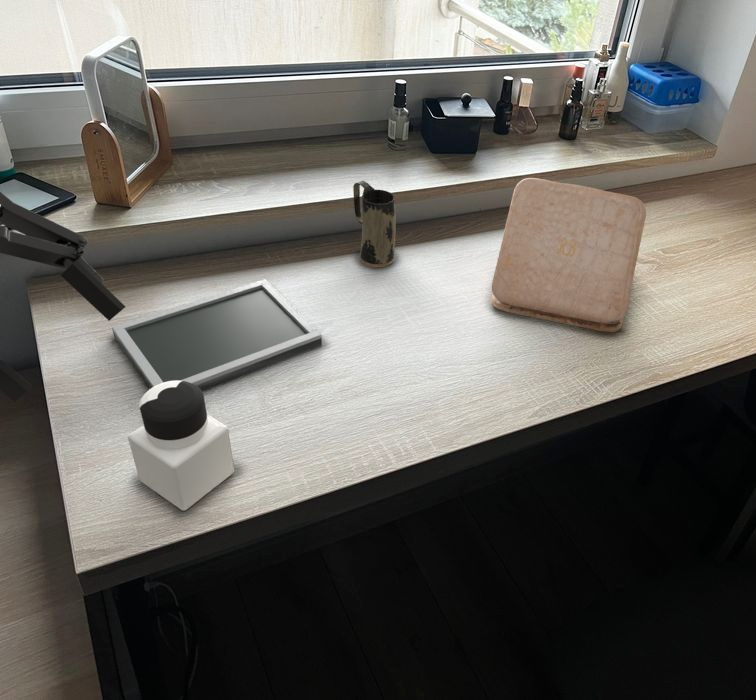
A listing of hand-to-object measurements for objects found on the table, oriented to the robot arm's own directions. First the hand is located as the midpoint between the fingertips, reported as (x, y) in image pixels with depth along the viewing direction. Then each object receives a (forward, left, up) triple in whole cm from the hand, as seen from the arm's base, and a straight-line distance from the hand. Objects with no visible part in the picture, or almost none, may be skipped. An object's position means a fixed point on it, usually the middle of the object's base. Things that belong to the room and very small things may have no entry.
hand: (74, 351), depth 72 cm
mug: (+49, +20, -15) cm, 55 cm away
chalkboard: (+19, +12, -14) cm, 26 cm away
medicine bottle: (+6, -8, -15) cm, 18 cm away
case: (+69, -4, -15) cm, 70 cm away
